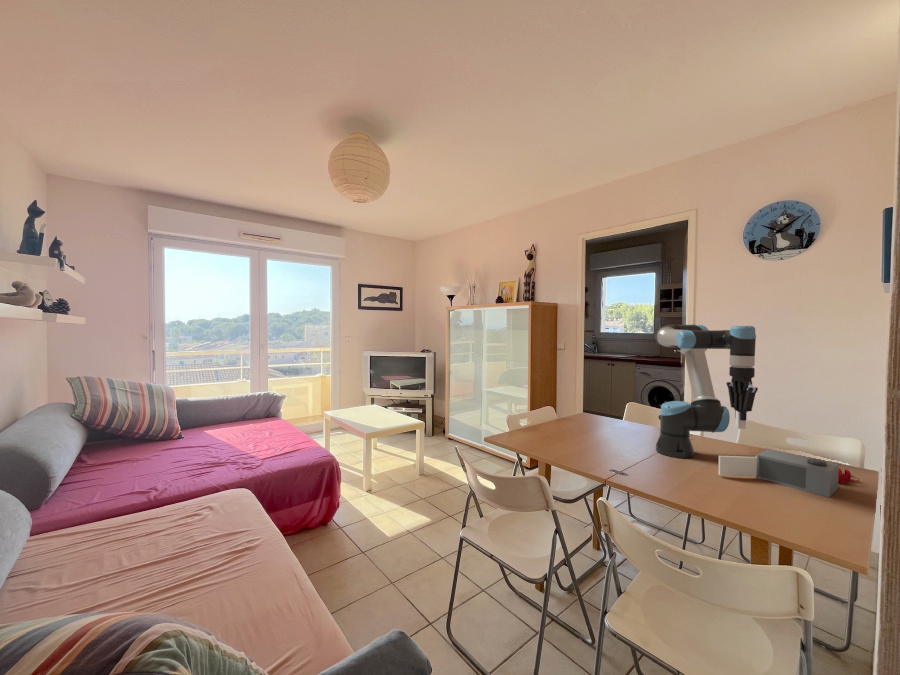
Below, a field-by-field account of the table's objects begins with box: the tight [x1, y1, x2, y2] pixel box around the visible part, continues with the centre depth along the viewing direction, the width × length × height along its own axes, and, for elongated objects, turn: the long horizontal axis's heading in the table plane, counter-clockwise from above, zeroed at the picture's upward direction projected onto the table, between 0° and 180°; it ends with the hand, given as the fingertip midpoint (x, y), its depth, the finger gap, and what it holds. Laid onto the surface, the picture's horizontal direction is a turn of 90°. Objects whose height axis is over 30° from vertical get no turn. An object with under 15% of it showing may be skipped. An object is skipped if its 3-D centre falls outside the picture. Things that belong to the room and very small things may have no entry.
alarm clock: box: [838, 467, 861, 485], centre depth 143 cm, size 10×6×15 cm
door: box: [718, 454, 759, 479], centre depth 145 cm, size 14×2×8 cm, turn 83°
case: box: [756, 448, 840, 498], centre depth 139 cm, size 20×12×10 cm, turn 34°
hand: (740, 428), depth 142 cm, fingers closed
